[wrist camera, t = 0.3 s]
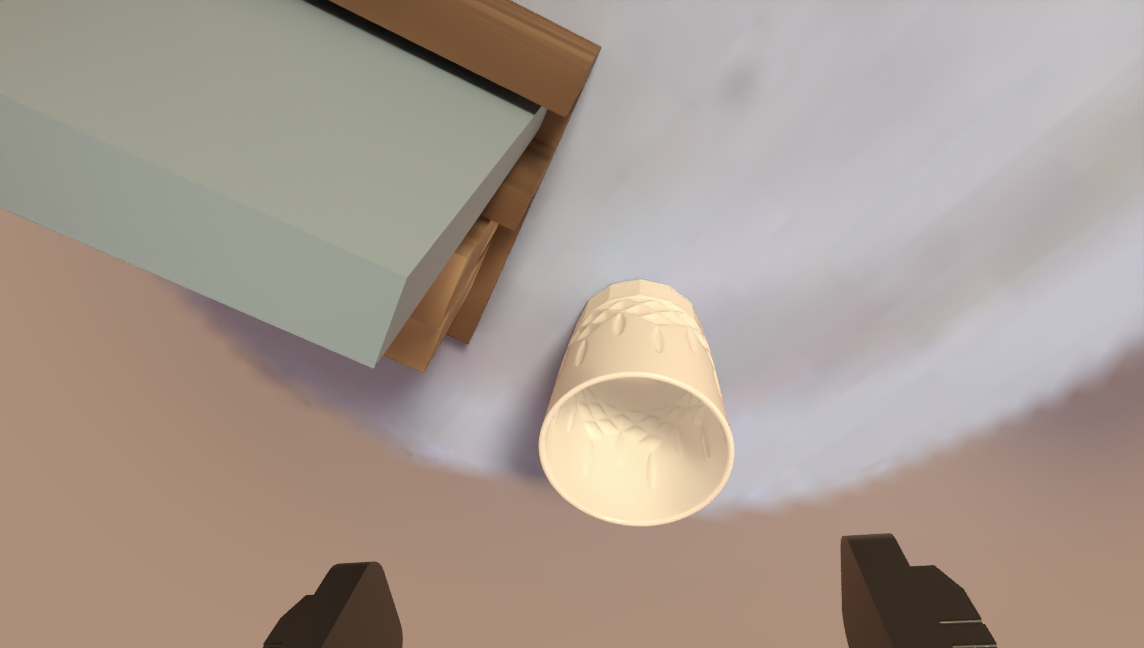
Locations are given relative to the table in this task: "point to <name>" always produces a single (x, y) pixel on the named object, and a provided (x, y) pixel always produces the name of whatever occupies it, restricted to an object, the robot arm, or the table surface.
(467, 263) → the tall oak offcut
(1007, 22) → the table surface
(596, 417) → the white cup
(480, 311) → the rack
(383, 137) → the tall board
